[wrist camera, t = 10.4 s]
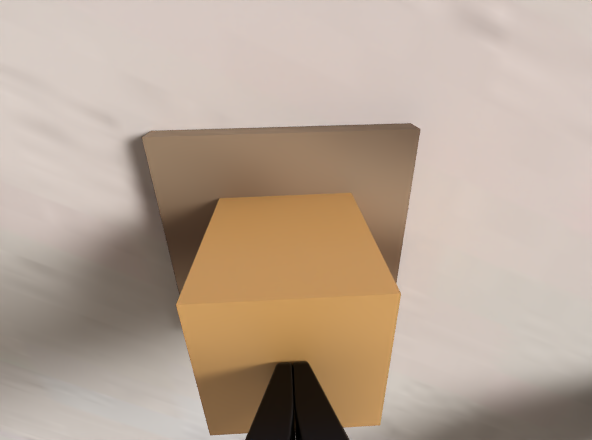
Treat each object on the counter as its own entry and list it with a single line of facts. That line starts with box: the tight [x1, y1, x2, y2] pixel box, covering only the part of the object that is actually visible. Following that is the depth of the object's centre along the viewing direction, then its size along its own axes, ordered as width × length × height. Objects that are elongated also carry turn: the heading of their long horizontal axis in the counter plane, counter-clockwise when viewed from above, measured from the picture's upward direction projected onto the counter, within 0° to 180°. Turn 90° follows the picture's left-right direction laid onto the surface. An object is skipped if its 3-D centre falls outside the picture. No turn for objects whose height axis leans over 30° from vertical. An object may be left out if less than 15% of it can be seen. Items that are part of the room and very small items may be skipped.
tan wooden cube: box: [176, 193, 401, 435], centre depth 11 cm, size 5×5×6 cm
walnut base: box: [142, 123, 420, 295], centre depth 14 cm, size 10×10×1 cm
